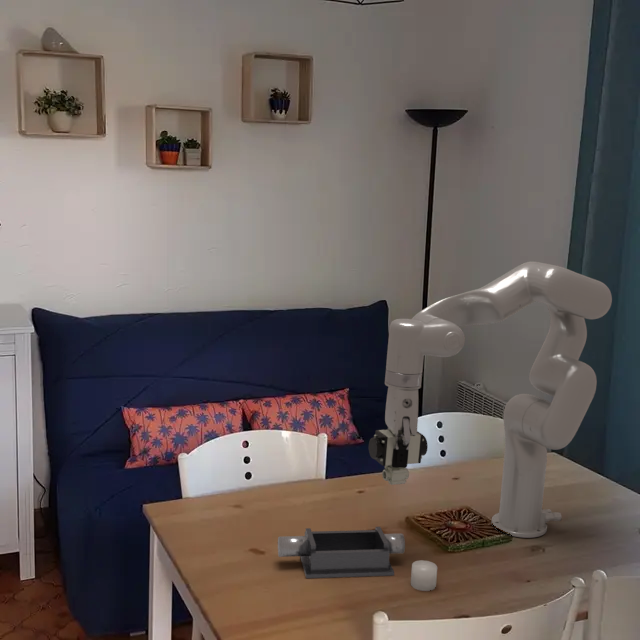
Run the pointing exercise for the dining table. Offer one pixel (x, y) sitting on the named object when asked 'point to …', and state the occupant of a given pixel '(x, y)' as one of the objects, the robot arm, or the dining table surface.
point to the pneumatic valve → (383, 454)
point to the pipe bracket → (343, 552)
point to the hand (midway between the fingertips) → (395, 461)
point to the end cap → (423, 575)
